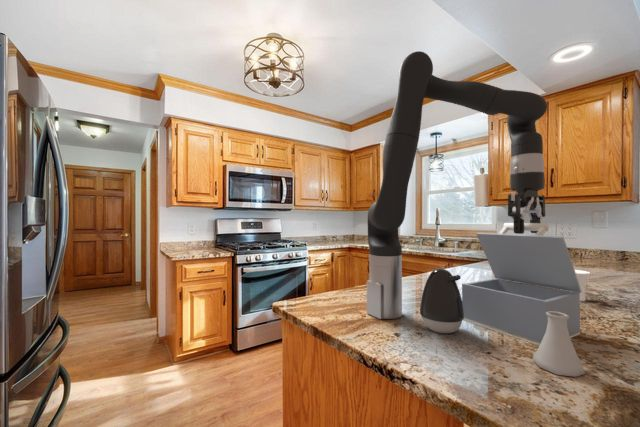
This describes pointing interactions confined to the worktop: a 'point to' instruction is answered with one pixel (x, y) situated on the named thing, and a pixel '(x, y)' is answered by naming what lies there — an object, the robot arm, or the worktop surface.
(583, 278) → the cup
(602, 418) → the worktop surface
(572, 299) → the carton
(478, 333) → the worktop surface
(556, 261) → the lid flap
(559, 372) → the flask
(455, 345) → the worktop surface
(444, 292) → the pump dispenser
